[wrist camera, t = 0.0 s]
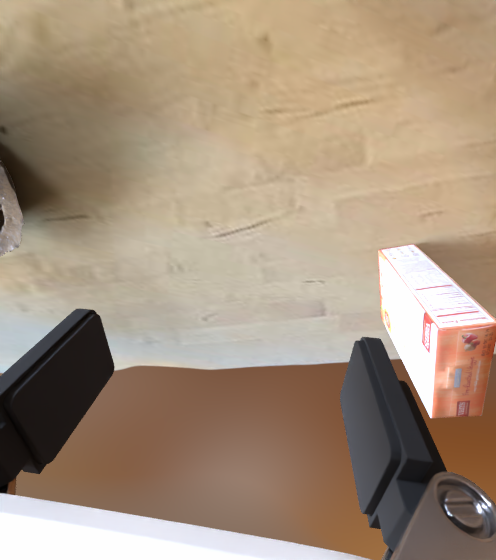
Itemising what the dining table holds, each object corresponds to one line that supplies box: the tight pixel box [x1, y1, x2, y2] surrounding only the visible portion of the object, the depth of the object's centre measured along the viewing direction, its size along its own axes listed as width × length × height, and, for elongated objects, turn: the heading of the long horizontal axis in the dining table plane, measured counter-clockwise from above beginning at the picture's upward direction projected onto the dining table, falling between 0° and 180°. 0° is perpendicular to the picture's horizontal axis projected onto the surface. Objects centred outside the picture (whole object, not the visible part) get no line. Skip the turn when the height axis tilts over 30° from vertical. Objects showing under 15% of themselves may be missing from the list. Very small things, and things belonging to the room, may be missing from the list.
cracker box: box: [378, 244, 496, 418], centre depth 39 cm, size 14×6×21 cm, turn 14°
